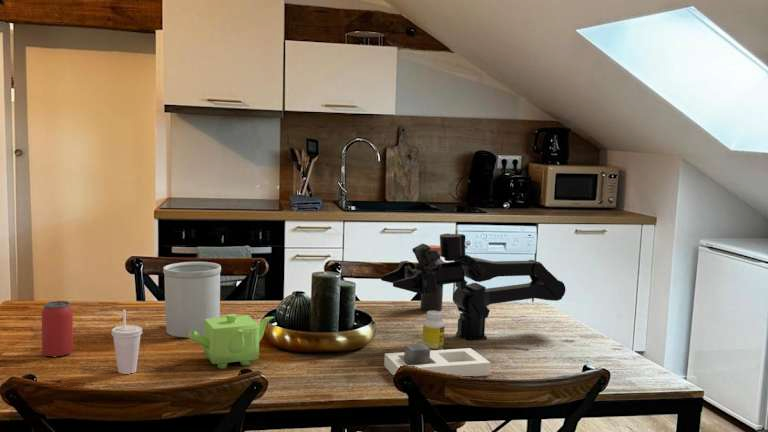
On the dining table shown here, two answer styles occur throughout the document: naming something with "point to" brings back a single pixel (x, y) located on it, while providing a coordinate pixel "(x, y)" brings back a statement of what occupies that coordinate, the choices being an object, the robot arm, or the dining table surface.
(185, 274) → the utensil holder
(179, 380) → the dining table surface
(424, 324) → the supplement bottle
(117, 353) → the smoothie
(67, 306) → the beer can
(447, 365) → the white flat block
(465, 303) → the robot arm
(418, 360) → the seated peg
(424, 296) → the vinegar
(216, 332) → the kettle
